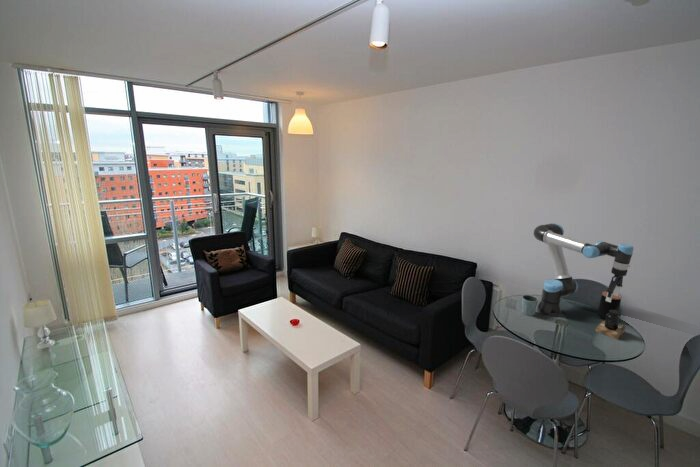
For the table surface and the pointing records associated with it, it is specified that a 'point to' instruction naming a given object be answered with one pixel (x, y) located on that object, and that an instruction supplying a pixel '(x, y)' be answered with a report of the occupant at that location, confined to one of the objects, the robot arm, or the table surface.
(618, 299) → the coffee jar
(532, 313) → the grey green cup
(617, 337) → the dock
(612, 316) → the supplement bottle
